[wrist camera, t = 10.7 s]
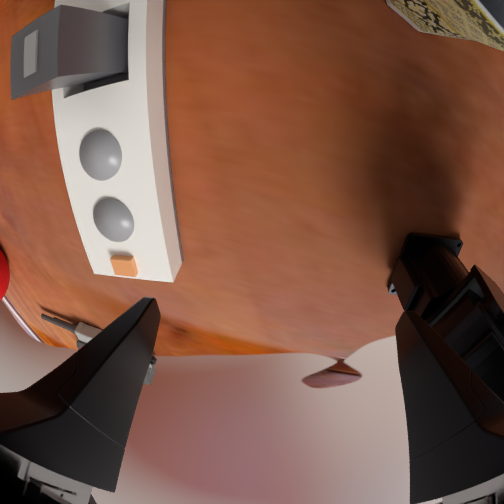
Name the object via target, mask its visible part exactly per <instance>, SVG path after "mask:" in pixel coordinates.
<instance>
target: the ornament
mask: <svg viewBox="0 0 504 504" xmlns="http://www.w3.org/2000/svg"><path fill="white" fill-rule="evenodd" d="M9 278H10V273H9V266H8V263H7V260H6V258H5V256H4V254H3V253H2V251H1V250H0V300H1V299H2V298H3V297H4V295H5V293H6V291H7V289H8V285H9Z"/></svg>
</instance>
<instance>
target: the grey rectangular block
mask: <svg viewBox="0 0 504 504" xmlns="http://www.w3.org/2000/svg"><path fill="white" fill-rule="evenodd" d="M128 28H129V20H128V19H125V18H121V17H118V16H114V15H110V14H106V13H102V12H98V11H94V10H89V9H84V8H79V7H73V6H67V5H59V6H57V7H55V8H54V9H52V10H50V11H49V12H47V13H45V14H44V15H42V16H41V17H39V18H38V19H36V20H34V21H33V22H31V23H30V24H29V25H27V26H26V27H24V28H23V29H21V30H20V31H19V32H17V33H16V34H15V35H13V36H12V44H11V98H12V100H13V99H17V98H20V97H24V96H28V95H31V94H35V93H40V92H44V91H48V90H53V89H58V88H63V87H69V86H75V85H81V84H88V83H94V82H97V81H100V80H104V79H108V78H111V77H115V76H119V75H123V74H127V73H129V71H128Z"/></svg>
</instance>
